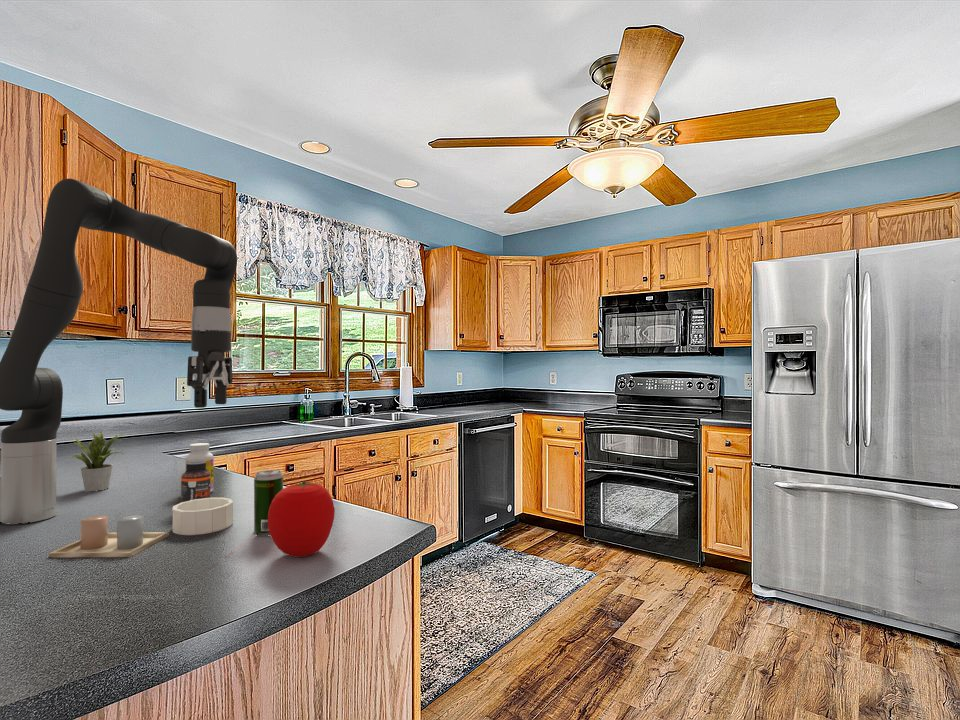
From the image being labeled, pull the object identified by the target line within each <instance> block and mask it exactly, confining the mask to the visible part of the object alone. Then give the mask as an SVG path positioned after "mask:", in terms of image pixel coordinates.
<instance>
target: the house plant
mask: <svg viewBox="0 0 960 720" xmlns="http://www.w3.org/2000/svg"><path fill="white" fill-rule="evenodd" d="M91 433H92V436H93V439H92V440H91V441H89V443H88V448H87V446H86V445H85V444H84V443H83V442H82V441H80V440H79V439H77V438H74V437H72V439H73V440H74V441H73V443H75V445H77V446H78V447H79V448H80V449H82V450H81V451H80V454H79V455H78V454H76V455H75V454H74V455H73V456H72V458H75V459H77V460H80V461H82V462H83V463H84V464H85V465H86V466H83V467H80V472H81V476H82V477H81V478H82V483H83V487H84V491H85V490H86V491H95V492H97V491H96V490H102V491H104V490H103V489H106V490H108V489H109V488H110V482H111V477H112V472H113V464H112V463H111V464H109V463H106V464H105V461H106V459H107V458H109V456H111V455H113V454H122V455H124V456H126V455H125V453H123V452H124V451H125V449H122V450H121V451H115V452H112V451H113V450H114V449H115V447H113V448H112V445H113V444H116V443H118V442H121V441H123V439H120V438H121V437H123V436H124V434H123V433H120V434H118V435H115V436H113V437H112V438H111V439H110V440H109V441H108V442H107V443H105V442H106V439H107V437H106V438H104V435H103V432H102V430H100V431H99V434H98V435H95V433H94V431H91ZM127 435H128V436H129V435H130V433H129V434H128V433H127V434H125V436H127ZM117 439H120V440H117ZM114 456H115V455H114ZM114 456H112V458H114ZM107 488H108V489H107ZM86 491H85V492H86Z"/></svg>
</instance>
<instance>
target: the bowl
mask: <svg viewBox="0 0 960 720" xmlns="http://www.w3.org/2000/svg"><path fill="white" fill-rule="evenodd" d="M233 524H234V502H233V498H228V497H210V498H203V499H195V500H190V501H186V502H181V501H180V502H179V503H178V504H175V505H173V506H172V533H174V534H176V535H181V536H196V535H198V536H199V535H205V534H212V533H215V532H220V531H223V530H225V529H227V528H229V527H231V526H232V525H233Z"/></svg>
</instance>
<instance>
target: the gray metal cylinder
mask: <svg viewBox="0 0 960 720" xmlns="http://www.w3.org/2000/svg"><path fill="white" fill-rule="evenodd" d="M143 532H144V516H143V515H141V514H140V515H138V514H137V515H135V514H134V515H128V516H124V517H123V516H122V517H120V518H118V519H117V520H116V533H117V549H119V550H127V549H133V548H137V547H139V546H140V545H142V544H143Z"/></svg>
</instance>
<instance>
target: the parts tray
mask: <svg viewBox="0 0 960 720" xmlns="http://www.w3.org/2000/svg"><path fill="white" fill-rule="evenodd" d="M169 536H170V535H169V532H164V531H163V532H162V531H161V532H159V531H156V532H155V531H153V532H151V531H150V532H148V531H146V532H145V531H143V544H142V545H140V546H139V547H137V548H133V549H127V550H119V549H117V532H108V544H107V545H106V546H104V547H101V548H97V549H92V550H82V549H80V544H81V539H79V540H76V541H73V542H71V543H69V544H67V545H65V546H62V547H60V548H58V549H56V550H53V551H51V552H49V553H48V558H53V559H55V558H59V559H61V558H64V559H65V558H131V557H133V556H135V555H137V554H139V553H140V552H143V551H144V550H145V549H146V550H147V548H150V547H152V546H154V545H155V544H157V543H159V542H160V541H162V540H164V539H166V538H168V537H169Z"/></svg>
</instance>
